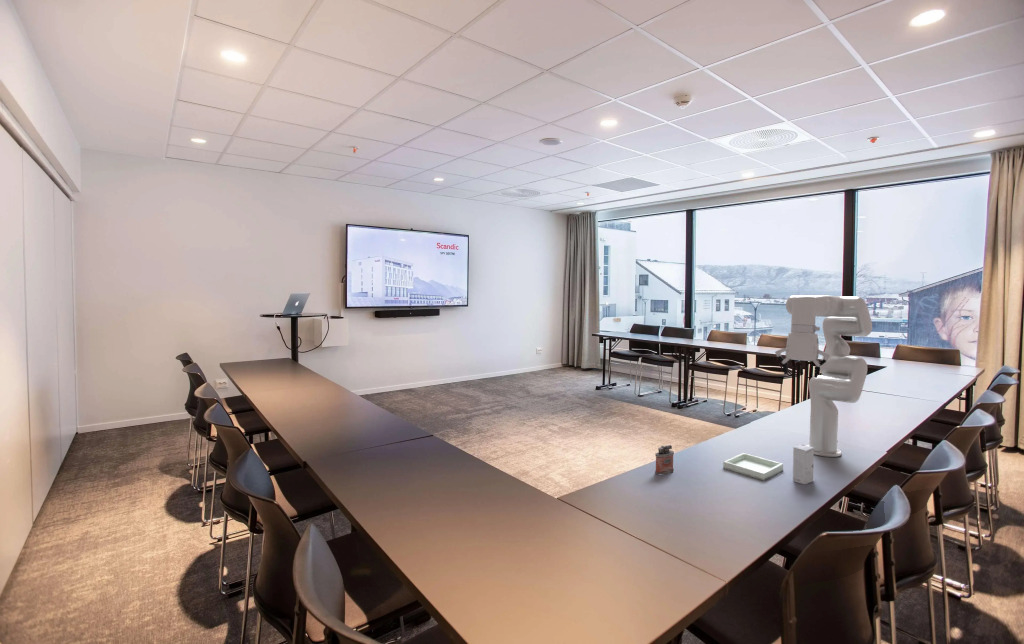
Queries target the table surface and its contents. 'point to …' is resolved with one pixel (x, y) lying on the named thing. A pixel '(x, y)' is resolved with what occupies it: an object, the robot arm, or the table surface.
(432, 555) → the table surface
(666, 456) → the lighter
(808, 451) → the skincare box
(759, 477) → the sage tray
